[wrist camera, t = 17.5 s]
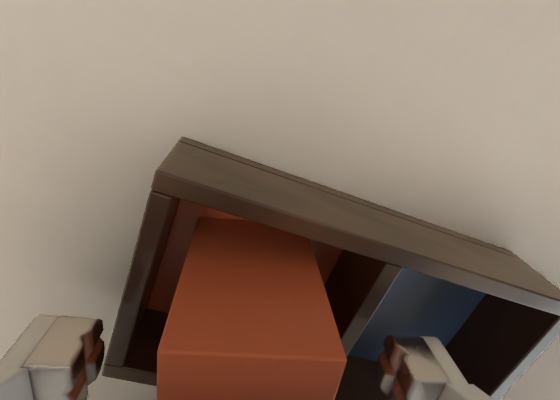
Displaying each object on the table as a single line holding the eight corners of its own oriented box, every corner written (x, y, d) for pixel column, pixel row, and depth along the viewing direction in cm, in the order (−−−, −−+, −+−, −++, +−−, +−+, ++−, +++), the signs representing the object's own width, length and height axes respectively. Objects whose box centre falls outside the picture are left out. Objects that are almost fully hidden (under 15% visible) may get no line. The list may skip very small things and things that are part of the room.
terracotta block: (198, 215, 12) (156, 351, 7) (306, 226, 13) (348, 360, 7) (192, 303, 14) (154, 470, 8) (289, 309, 14) (313, 470, 9)
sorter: (134, 302, 14) (100, 376, 11) (181, 135, 12) (155, 169, 8) (422, 369, 18) (461, 442, 14) (511, 251, 15) (584, 308, 12)
